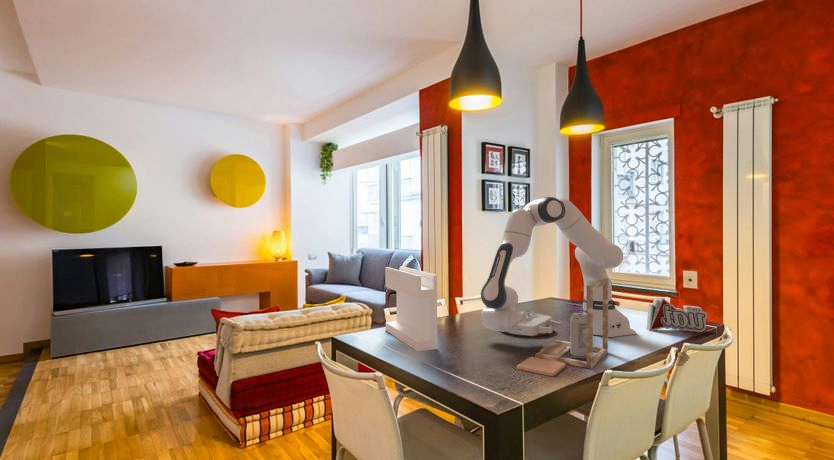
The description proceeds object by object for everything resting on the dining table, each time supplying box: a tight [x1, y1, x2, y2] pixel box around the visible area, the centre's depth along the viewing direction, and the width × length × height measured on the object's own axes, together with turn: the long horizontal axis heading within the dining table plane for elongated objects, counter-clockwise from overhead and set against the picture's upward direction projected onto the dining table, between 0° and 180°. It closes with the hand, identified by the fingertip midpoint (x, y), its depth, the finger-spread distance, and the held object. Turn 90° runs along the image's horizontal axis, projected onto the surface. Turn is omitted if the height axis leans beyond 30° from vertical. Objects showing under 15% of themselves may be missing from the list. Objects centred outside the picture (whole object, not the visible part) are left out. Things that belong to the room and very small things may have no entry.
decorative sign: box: [646, 296, 708, 333], centre depth 191 cm, size 23×3×15 cm, turn 84°
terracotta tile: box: [515, 356, 567, 377], centre depth 143 cm, size 12×12×1 cm
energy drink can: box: [569, 312, 587, 359], centre depth 155 cm, size 6×6×15 cm
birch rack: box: [535, 278, 609, 369], centre depth 156 cm, size 19×22×27 cm
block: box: [384, 265, 438, 352], centre depth 179 cm, size 35×8×28 cm, turn 24°
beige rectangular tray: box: [538, 342, 570, 357], centre depth 160 cm, size 7×15×2 cm, turn 143°
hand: (556, 327), depth 160 cm, fingers open, 8 cm apart
